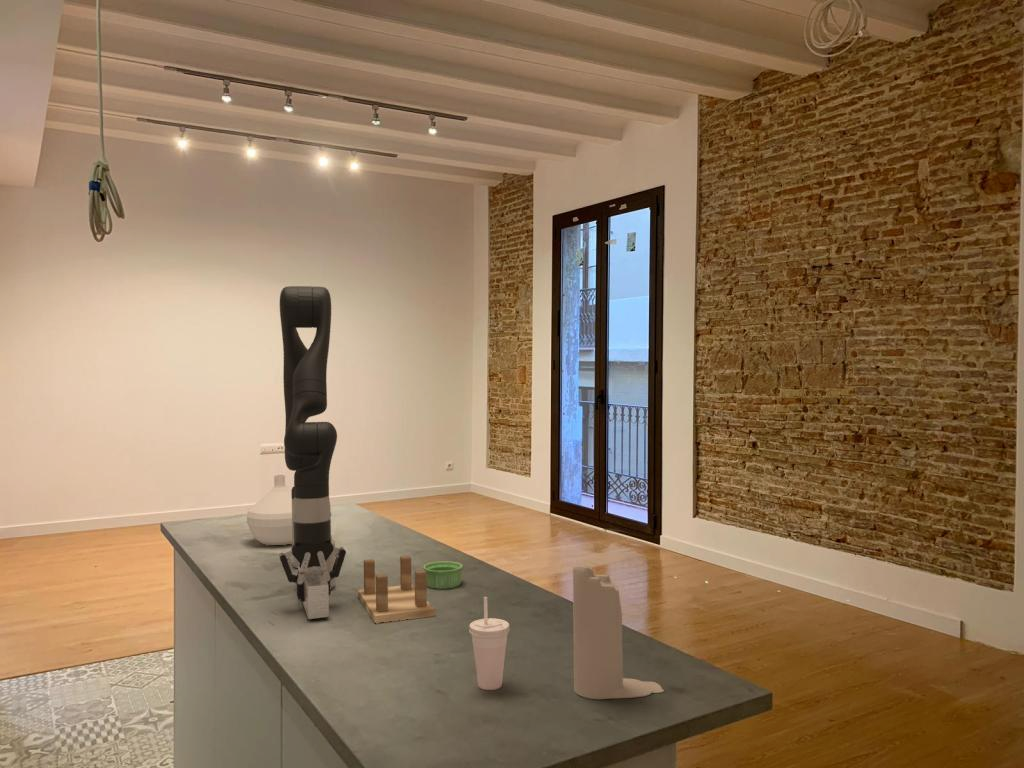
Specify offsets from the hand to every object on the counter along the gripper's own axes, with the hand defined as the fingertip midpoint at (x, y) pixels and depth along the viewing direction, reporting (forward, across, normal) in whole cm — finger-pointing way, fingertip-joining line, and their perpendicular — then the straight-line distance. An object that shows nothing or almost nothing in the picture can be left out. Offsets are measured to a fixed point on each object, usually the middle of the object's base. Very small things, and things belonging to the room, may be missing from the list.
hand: (313, 599), depth 166 cm
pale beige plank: (+1, 0, 0) cm, 1 cm away
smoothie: (+2, -21, +51) cm, 55 cm away
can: (+2, -3, -15) cm, 15 cm away
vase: (+3, +1, -67) cm, 67 cm away
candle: (+2, -39, +60) cm, 72 cm away
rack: (+2, -16, +5) cm, 17 cm away
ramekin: (+2, -30, -7) cm, 31 cm away
